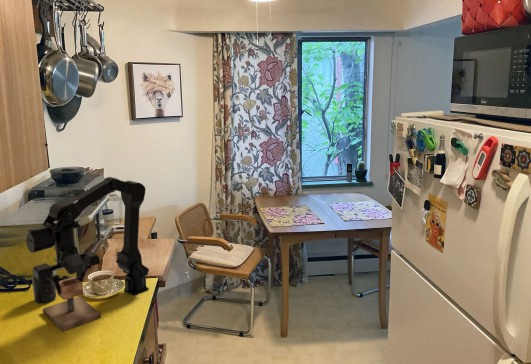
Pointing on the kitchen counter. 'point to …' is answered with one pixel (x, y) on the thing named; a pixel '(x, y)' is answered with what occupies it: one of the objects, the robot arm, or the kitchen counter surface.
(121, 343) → the kitchen counter surface
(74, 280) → the brown hollow square block
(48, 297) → the supplement bottle
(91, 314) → the brown peg base
